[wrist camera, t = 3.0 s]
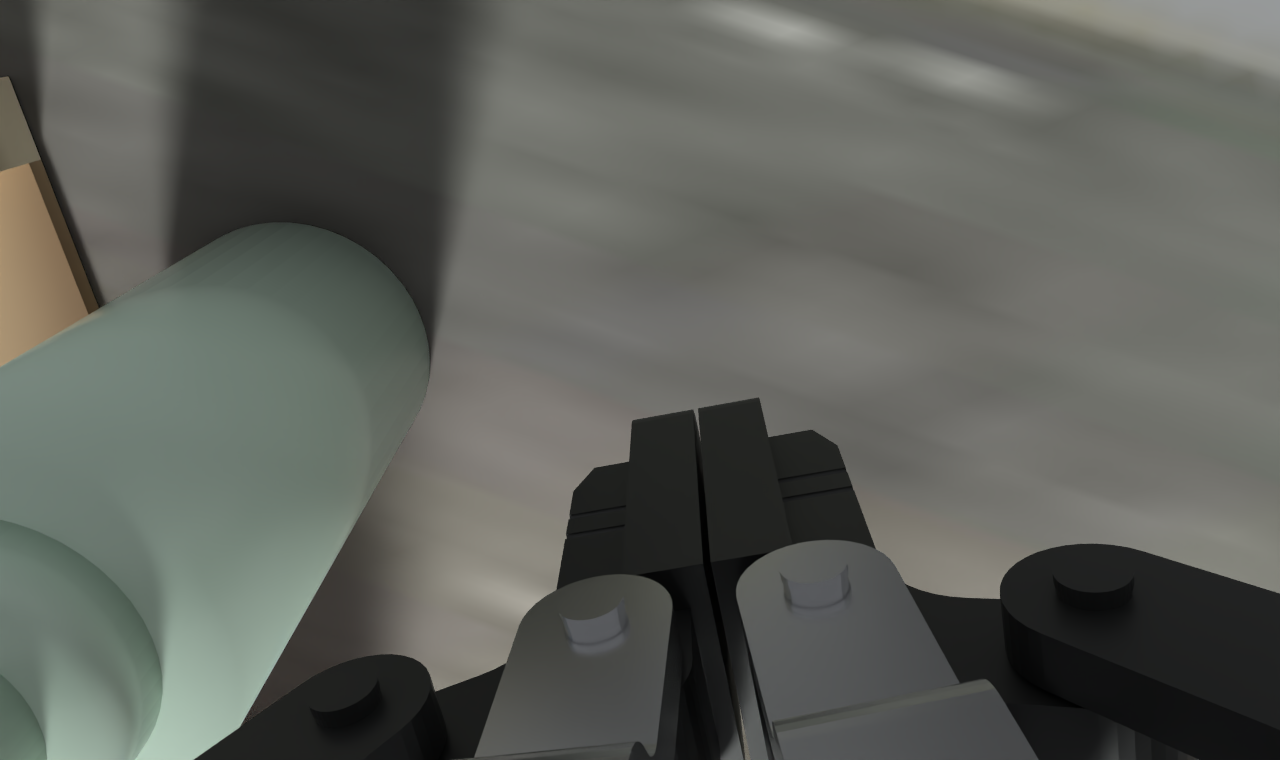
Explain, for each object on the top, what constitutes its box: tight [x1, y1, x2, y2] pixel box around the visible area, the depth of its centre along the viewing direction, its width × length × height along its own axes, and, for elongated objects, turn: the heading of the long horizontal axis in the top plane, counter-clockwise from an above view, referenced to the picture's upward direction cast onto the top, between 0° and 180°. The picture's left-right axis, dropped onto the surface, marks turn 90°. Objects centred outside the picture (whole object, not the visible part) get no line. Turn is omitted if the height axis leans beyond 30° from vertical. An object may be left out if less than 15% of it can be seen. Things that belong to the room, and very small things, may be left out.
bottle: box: [0, 222, 430, 760], centre depth 14 cm, size 5×5×15 cm
